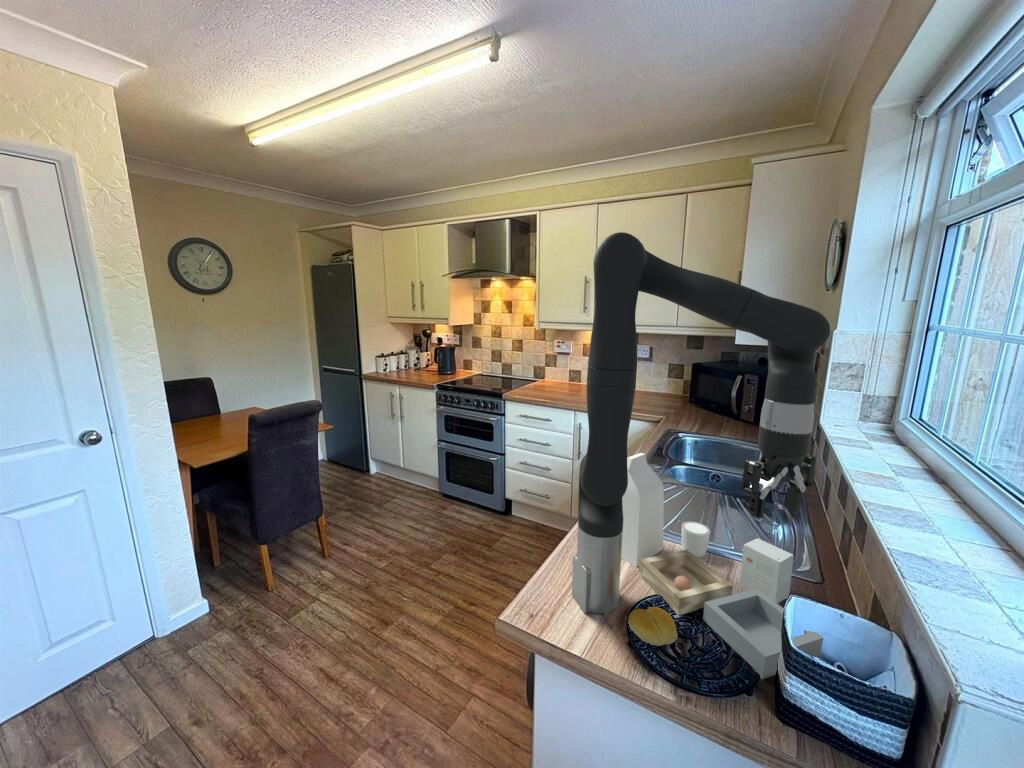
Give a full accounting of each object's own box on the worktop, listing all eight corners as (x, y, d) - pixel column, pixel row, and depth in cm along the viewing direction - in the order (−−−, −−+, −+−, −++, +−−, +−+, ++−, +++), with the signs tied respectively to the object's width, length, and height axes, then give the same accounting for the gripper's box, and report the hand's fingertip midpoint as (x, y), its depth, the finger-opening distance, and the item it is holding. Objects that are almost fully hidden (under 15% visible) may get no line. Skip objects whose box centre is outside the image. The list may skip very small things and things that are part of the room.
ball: (680, 597, 87) (681, 583, 87) (670, 587, 90) (671, 574, 90) (693, 594, 88) (694, 580, 88) (682, 584, 91) (683, 571, 91)
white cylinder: (683, 542, 110) (686, 518, 108) (711, 551, 105) (713, 526, 104) (675, 553, 104) (677, 528, 103) (704, 563, 100) (706, 538, 99)
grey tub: (762, 679, 68) (765, 656, 68) (702, 621, 81) (704, 602, 80) (819, 659, 72) (823, 637, 72) (754, 607, 85) (756, 588, 84)
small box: (789, 598, 88) (795, 555, 86) (775, 607, 85) (781, 562, 83) (752, 577, 95) (757, 537, 93) (738, 585, 92) (743, 543, 90)
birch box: (677, 617, 82) (679, 598, 81) (638, 576, 95) (639, 559, 94) (730, 603, 86) (732, 585, 85) (685, 566, 99) (686, 549, 98)
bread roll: (621, 618, 82) (622, 601, 81) (662, 614, 83) (664, 597, 83) (639, 652, 74) (640, 633, 73) (684, 647, 75) (686, 628, 75)
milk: (636, 569, 98) (642, 468, 93) (598, 548, 107) (603, 454, 102) (662, 551, 105) (670, 456, 101) (625, 532, 114) (631, 445, 110)
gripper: (774, 435, 64) (762, 529, 67) (837, 428, 68) (824, 516, 71) (735, 423, 71) (726, 508, 74) (794, 417, 75) (784, 498, 78)
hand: (774, 512), depth 72 cm, fingers open, 8 cm apart
